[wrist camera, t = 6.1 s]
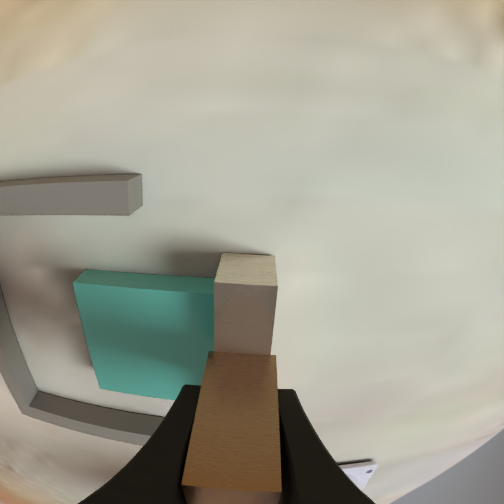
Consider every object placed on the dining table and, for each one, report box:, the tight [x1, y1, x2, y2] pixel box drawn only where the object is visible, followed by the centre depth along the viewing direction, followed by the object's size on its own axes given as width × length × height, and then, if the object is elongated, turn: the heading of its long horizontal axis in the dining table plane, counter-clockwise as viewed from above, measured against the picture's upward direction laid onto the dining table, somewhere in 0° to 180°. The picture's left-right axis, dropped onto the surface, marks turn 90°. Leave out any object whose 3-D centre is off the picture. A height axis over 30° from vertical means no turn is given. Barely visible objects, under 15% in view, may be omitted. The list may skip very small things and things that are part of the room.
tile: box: [73, 269, 215, 400], centre depth 14 cm, size 6×6×2 cm
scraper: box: [181, 253, 282, 504], centre depth 10 cm, size 8×2×8 cm, turn 177°
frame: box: [0, 174, 165, 446], centre depth 13 cm, size 14×10×2 cm
